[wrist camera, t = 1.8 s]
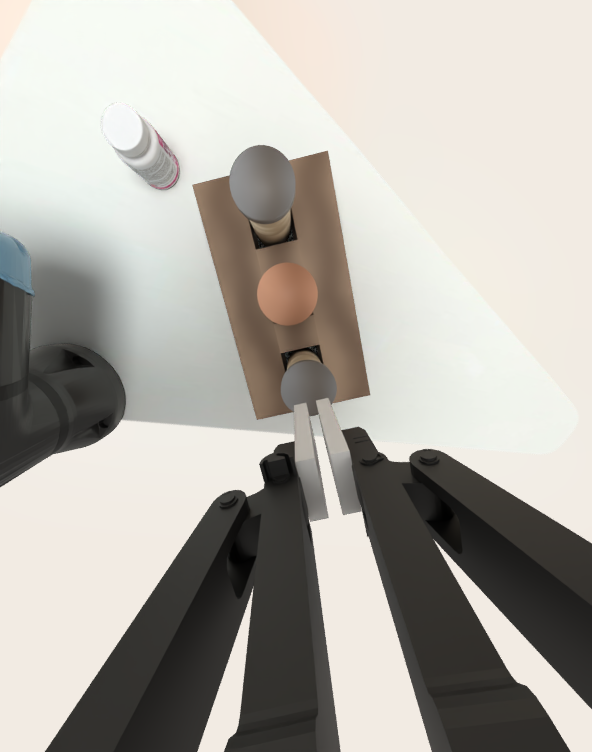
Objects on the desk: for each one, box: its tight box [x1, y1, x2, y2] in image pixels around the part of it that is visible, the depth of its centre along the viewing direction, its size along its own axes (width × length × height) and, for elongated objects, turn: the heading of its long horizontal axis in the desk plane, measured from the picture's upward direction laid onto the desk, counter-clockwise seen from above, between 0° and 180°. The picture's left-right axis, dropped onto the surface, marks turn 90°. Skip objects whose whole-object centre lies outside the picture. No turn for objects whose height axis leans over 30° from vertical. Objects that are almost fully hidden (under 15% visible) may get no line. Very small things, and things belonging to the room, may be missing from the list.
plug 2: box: [281, 348, 337, 416], centre depth 30 cm, size 5×5×12 cm
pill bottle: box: [101, 103, 179, 190], centre depth 31 cm, size 5×5×8 cm
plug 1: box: [229, 145, 295, 247], centre depth 27 cm, size 5×5×12 cm
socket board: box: [192, 151, 370, 420], centre depth 35 cm, size 14×26×8 cm, turn 13°
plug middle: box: [257, 263, 318, 326], centre depth 28 cm, size 5×5×12 cm
